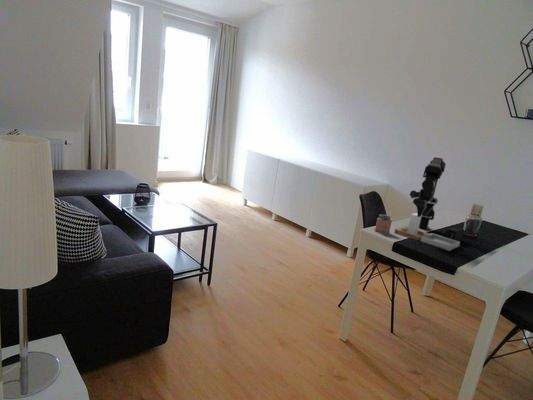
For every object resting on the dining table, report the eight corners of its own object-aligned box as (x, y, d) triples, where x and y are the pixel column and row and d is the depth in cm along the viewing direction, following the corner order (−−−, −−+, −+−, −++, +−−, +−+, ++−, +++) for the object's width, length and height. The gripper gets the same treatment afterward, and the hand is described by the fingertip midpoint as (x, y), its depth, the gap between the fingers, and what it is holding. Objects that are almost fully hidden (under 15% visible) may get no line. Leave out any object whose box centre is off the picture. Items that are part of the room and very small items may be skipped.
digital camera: (452, 238, 214) (455, 226, 213) (461, 241, 210) (464, 229, 209) (443, 239, 208) (446, 228, 206) (453, 243, 204) (456, 231, 202)
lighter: (388, 232, 207) (392, 215, 205) (389, 234, 204) (393, 216, 202) (374, 230, 208) (377, 213, 206) (375, 231, 205) (378, 214, 202)
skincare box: (409, 232, 212) (414, 212, 210) (417, 235, 210) (422, 214, 207) (405, 234, 208) (410, 213, 205) (413, 237, 205) (418, 216, 202)
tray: (431, 237, 208) (432, 233, 208) (458, 246, 198) (460, 242, 198) (420, 241, 198) (421, 236, 197) (449, 251, 188) (450, 246, 187)
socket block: (405, 229, 218) (406, 226, 218) (428, 237, 209) (429, 233, 208) (394, 232, 208) (395, 229, 208) (418, 240, 199) (419, 237, 198)
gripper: (421, 184, 212) (415, 210, 216) (406, 185, 199) (400, 213, 203) (440, 188, 205) (434, 216, 208) (427, 190, 192) (420, 219, 195)
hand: (422, 216), depth 204 cm, fingers open, 8 cm apart
